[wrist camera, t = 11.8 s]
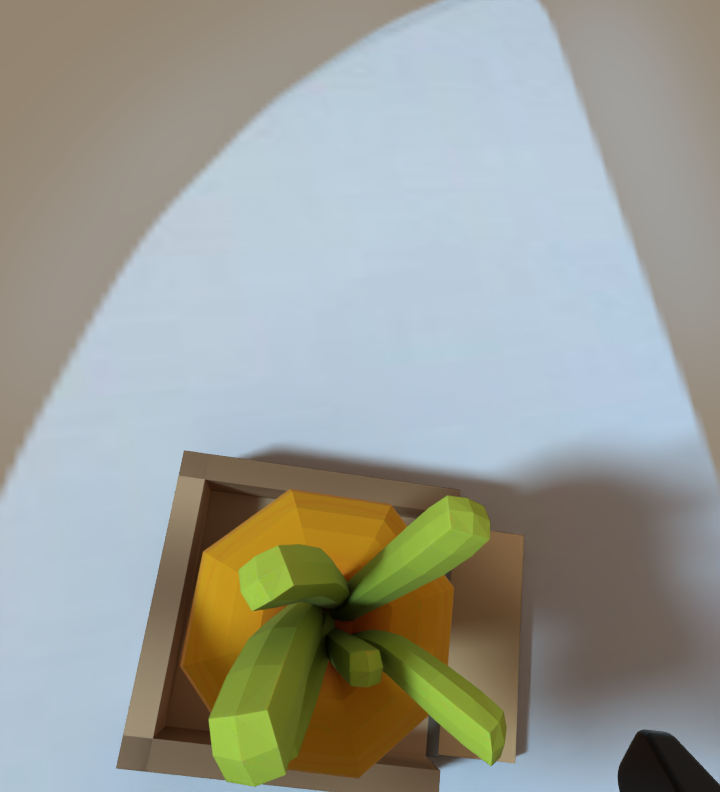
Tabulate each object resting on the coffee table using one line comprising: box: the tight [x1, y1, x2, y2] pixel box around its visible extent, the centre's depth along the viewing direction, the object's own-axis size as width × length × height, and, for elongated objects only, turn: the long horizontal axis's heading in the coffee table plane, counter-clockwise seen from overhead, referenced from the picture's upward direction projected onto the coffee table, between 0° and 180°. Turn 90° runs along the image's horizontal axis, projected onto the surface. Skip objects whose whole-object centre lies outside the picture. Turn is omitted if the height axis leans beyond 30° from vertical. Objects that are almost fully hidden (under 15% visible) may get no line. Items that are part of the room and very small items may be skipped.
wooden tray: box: [116, 451, 524, 792], centre depth 21 cm, size 9×12×3 cm
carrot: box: [180, 489, 507, 787], centre depth 14 cm, size 5×5×15 cm
